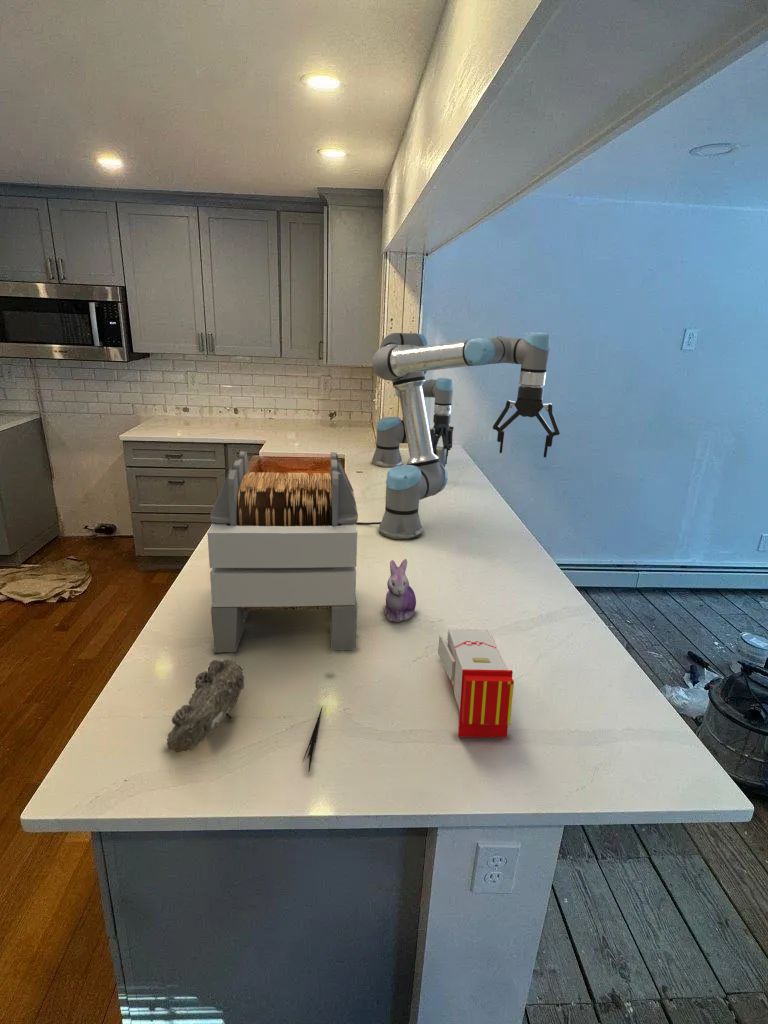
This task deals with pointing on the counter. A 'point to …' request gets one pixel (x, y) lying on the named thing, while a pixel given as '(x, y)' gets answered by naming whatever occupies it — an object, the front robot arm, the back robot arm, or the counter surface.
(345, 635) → the file storage bin
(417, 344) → the back robot arm
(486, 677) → the toy
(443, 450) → the tin
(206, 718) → the fossil
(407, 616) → the figurine
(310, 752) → the feather
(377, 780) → the counter surface
